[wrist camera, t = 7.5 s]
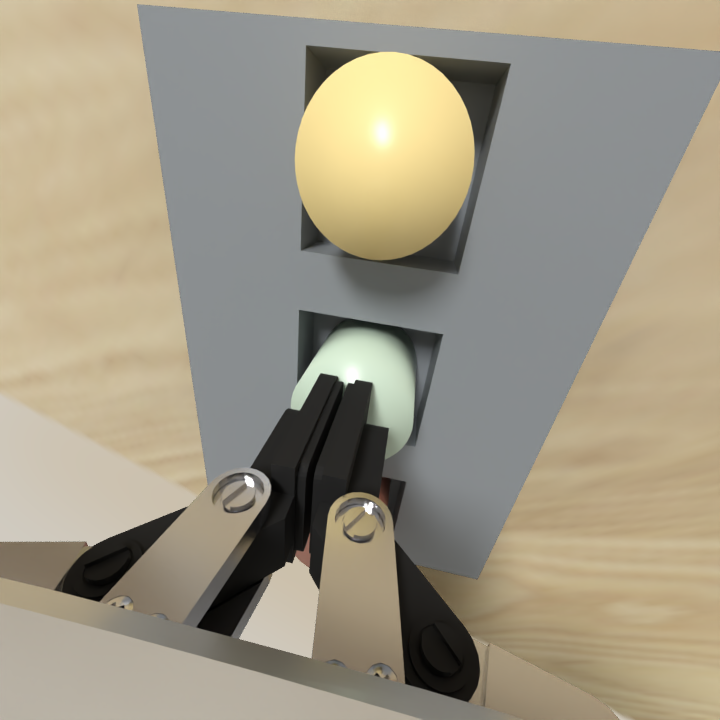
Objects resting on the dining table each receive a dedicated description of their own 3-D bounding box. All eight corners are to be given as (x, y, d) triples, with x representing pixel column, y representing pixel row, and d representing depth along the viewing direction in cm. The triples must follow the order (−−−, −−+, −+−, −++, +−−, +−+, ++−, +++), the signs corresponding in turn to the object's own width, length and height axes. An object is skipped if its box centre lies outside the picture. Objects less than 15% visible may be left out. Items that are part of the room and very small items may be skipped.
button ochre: (474, 103, 10) (499, 61, 6) (443, 245, 12) (449, 271, 8) (340, 90, 10) (296, 42, 7) (331, 229, 12) (293, 247, 9)
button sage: (425, 324, 13) (425, 375, 10) (407, 407, 15) (401, 474, 12) (326, 307, 14) (291, 350, 10) (320, 390, 16) (289, 450, 12)
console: (652, 87, 10) (733, 53, 7) (470, 526, 19) (477, 579, 17) (204, 45, 11) (136, 4, 9) (239, 474, 21) (212, 516, 18)
